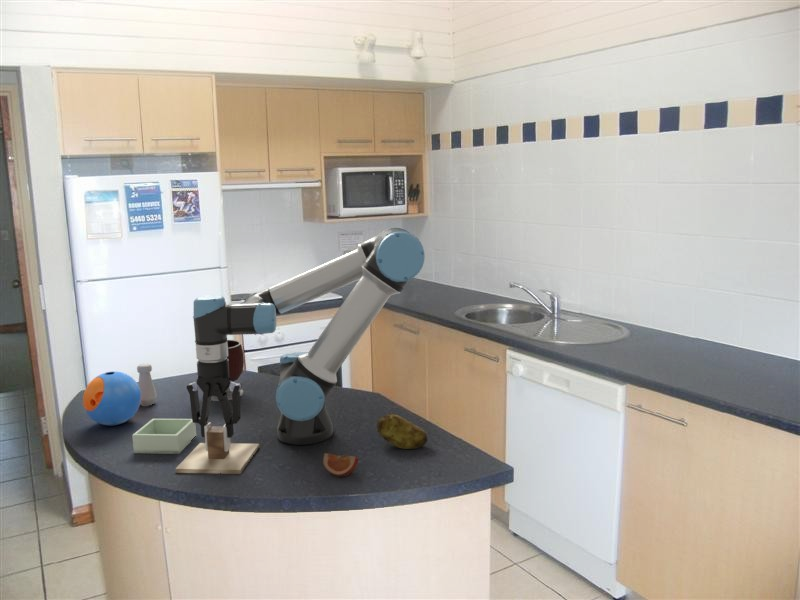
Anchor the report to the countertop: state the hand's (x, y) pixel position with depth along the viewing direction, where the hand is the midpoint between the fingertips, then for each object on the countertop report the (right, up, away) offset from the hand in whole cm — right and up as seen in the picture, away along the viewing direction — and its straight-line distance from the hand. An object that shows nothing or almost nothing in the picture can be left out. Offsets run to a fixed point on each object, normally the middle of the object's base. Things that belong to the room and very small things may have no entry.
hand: (218, 448), depth 167 cm
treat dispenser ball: (-38, +1, +27) cm, 47 cm away
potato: (+46, -1, +7) cm, 47 cm away
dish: (-17, -1, +11) cm, 20 cm away
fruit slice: (+32, -4, -9) cm, 33 cm away
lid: (0, -3, +1) cm, 3 cm away
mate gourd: (-13, +6, +51) cm, 53 cm away
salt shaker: (-34, +4, +44) cm, 56 cm away
